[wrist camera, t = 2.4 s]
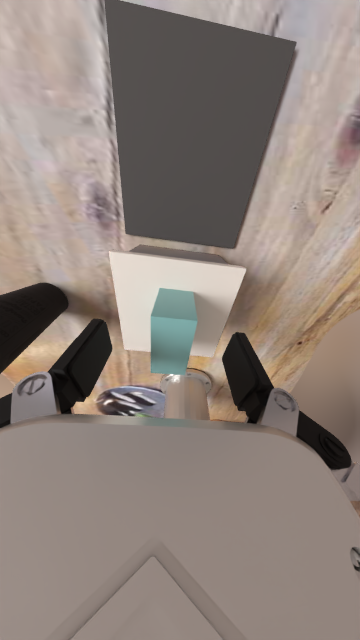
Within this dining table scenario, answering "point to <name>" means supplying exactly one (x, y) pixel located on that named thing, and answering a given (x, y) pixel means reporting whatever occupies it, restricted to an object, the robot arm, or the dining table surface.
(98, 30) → the dining table surface
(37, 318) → the drinking cup
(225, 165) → the mat
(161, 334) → the lid
